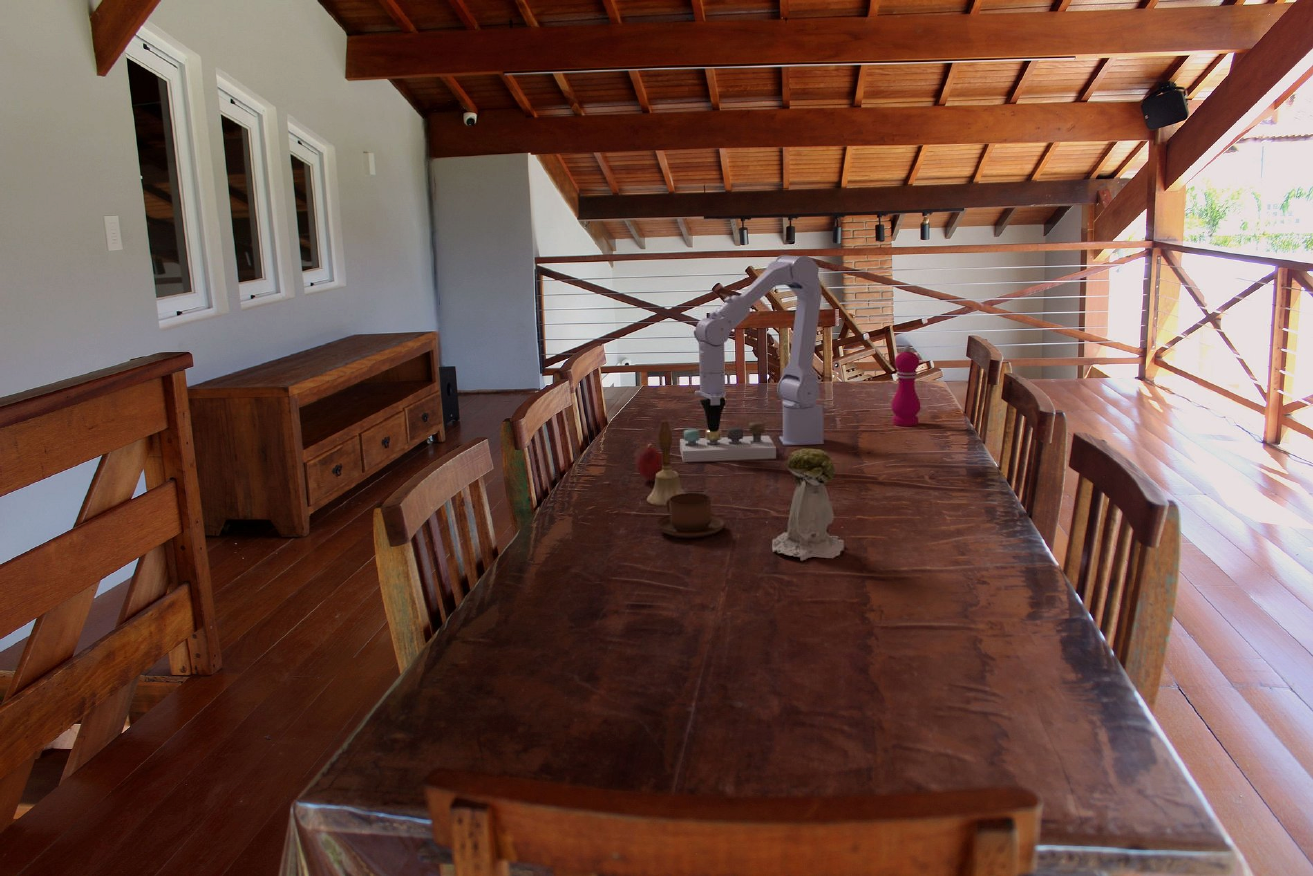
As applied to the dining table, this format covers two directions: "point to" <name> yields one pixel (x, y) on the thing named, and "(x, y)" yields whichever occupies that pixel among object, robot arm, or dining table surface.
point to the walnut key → (756, 430)
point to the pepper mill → (906, 389)
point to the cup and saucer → (690, 516)
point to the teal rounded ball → (691, 436)
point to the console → (728, 450)
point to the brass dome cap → (713, 436)
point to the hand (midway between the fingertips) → (713, 430)
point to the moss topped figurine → (809, 508)
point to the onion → (649, 463)
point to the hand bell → (665, 471)
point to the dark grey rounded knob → (735, 435)
